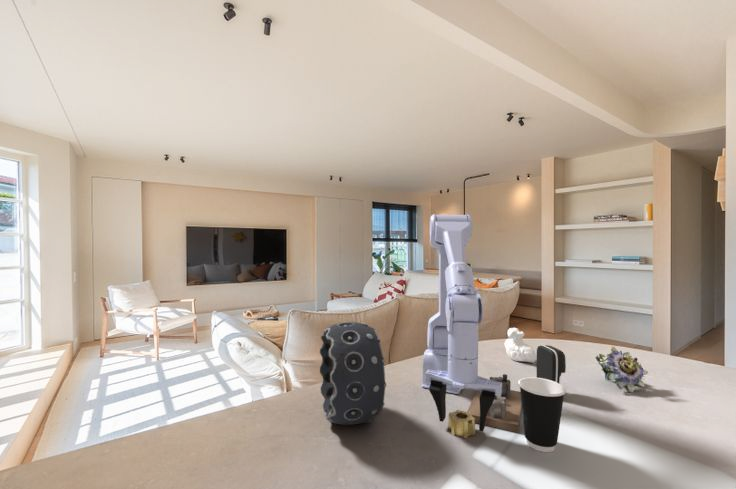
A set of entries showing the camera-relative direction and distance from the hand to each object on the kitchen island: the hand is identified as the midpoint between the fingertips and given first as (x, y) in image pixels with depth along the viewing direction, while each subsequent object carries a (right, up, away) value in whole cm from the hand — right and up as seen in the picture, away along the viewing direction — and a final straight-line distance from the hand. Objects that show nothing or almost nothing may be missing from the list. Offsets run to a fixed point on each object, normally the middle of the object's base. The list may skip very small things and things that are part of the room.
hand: (461, 423), depth 70 cm
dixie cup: (+13, -2, -4) cm, 14 cm away
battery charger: (+27, -2, +18) cm, 32 cm away
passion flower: (+47, -2, +23) cm, 53 cm away
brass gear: (0, -1, 0) cm, 1 cm away
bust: (+29, -1, +43) cm, 52 cm away
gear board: (+10, -1, +9) cm, 14 cm away
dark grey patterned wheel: (-22, -1, +4) cm, 23 cm away
